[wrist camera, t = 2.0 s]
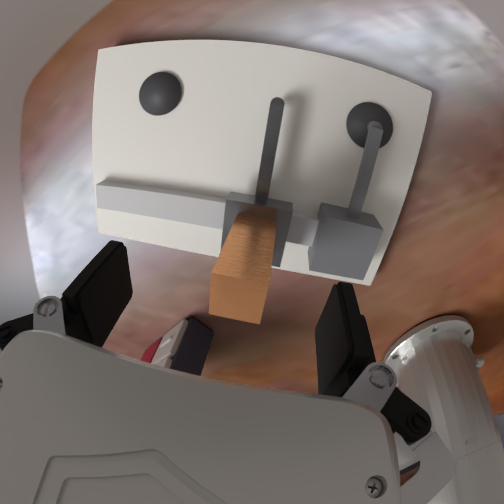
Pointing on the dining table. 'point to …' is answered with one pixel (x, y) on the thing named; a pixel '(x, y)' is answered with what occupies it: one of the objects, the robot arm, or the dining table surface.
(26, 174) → the dining table surface
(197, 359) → the calculator
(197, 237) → the gauge board
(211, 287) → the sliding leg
